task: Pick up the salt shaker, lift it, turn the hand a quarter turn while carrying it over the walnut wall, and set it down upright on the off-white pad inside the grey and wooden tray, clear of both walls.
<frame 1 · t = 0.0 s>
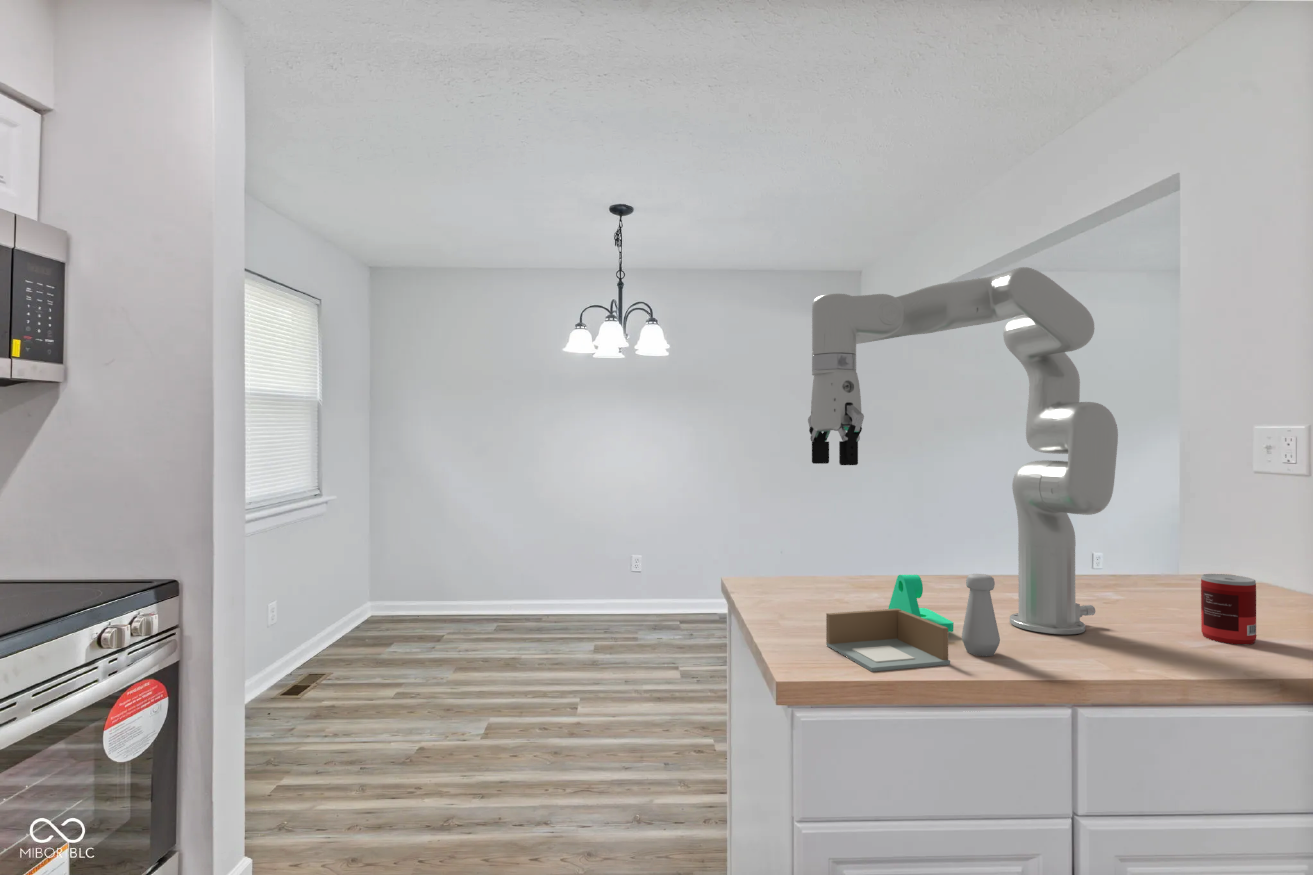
hand: (834, 464, 122), 31 cm above the table, tool pointing down, fingers open, 9 cm apart
camera mount: (920, 630, 131), on the table
canned food: (1228, 640, 125), on the table
grey and wooden tray: (885, 654, 115), on the table
salt shaker: (980, 654, 116), on the table
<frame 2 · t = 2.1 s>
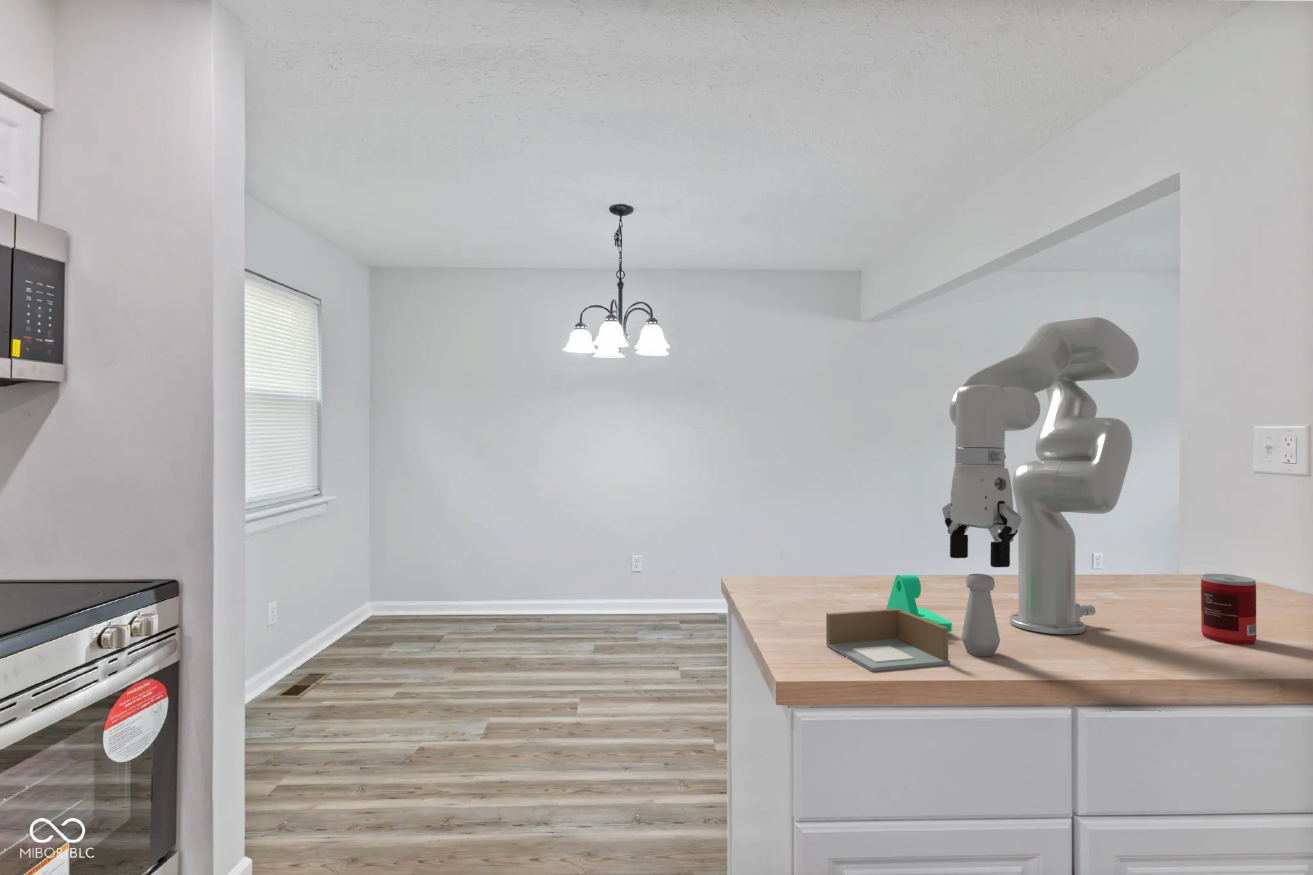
hand: (978, 562, 116), 15 cm above the table, tool pointing down, fingers open, 9 cm apart
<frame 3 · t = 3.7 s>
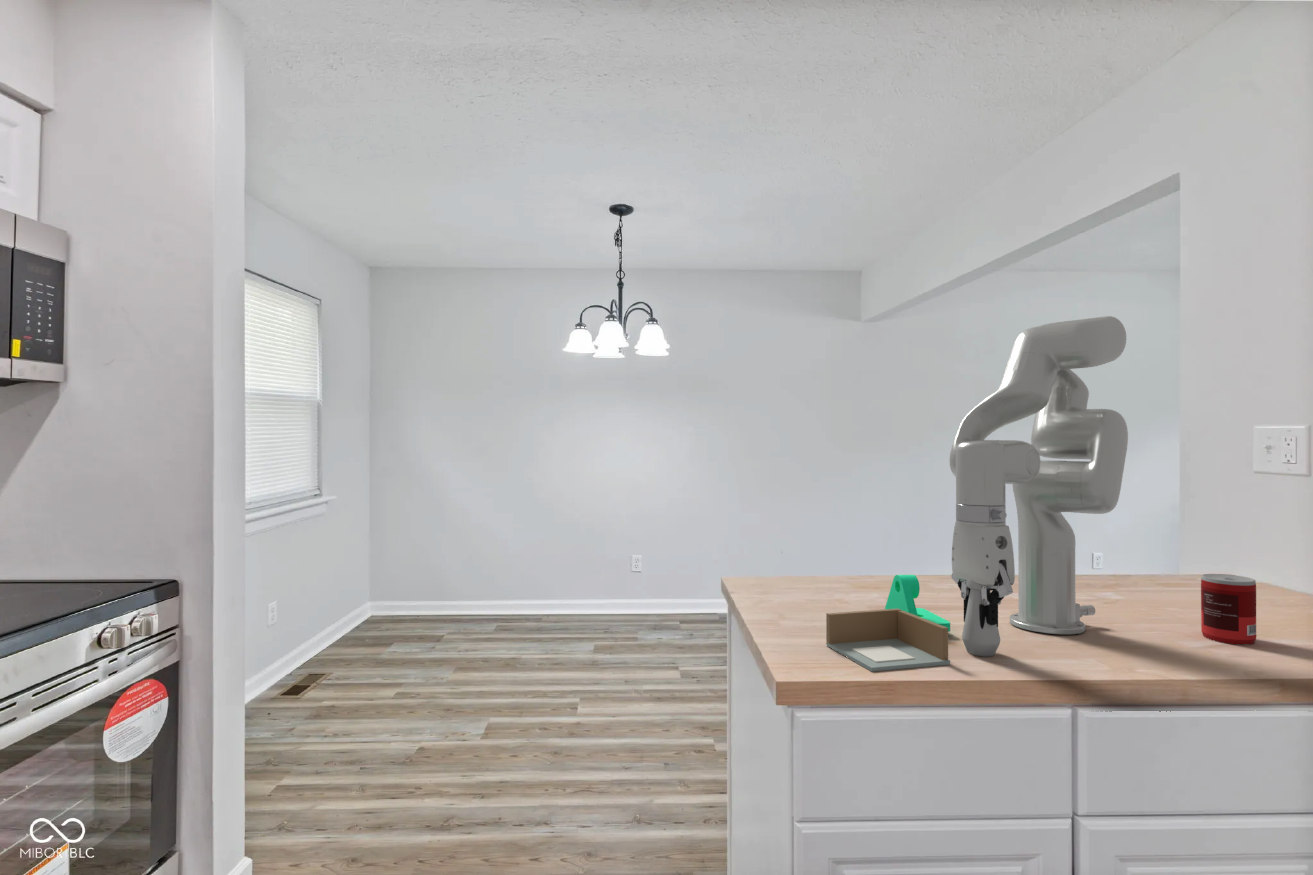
hand: (980, 624, 116), 5 cm above the table, tool pointing down, fingers closed on salt shaker, 3 cm apart
salt shaker: (981, 654, 116), on the table, touching gripper
everything else where it was.
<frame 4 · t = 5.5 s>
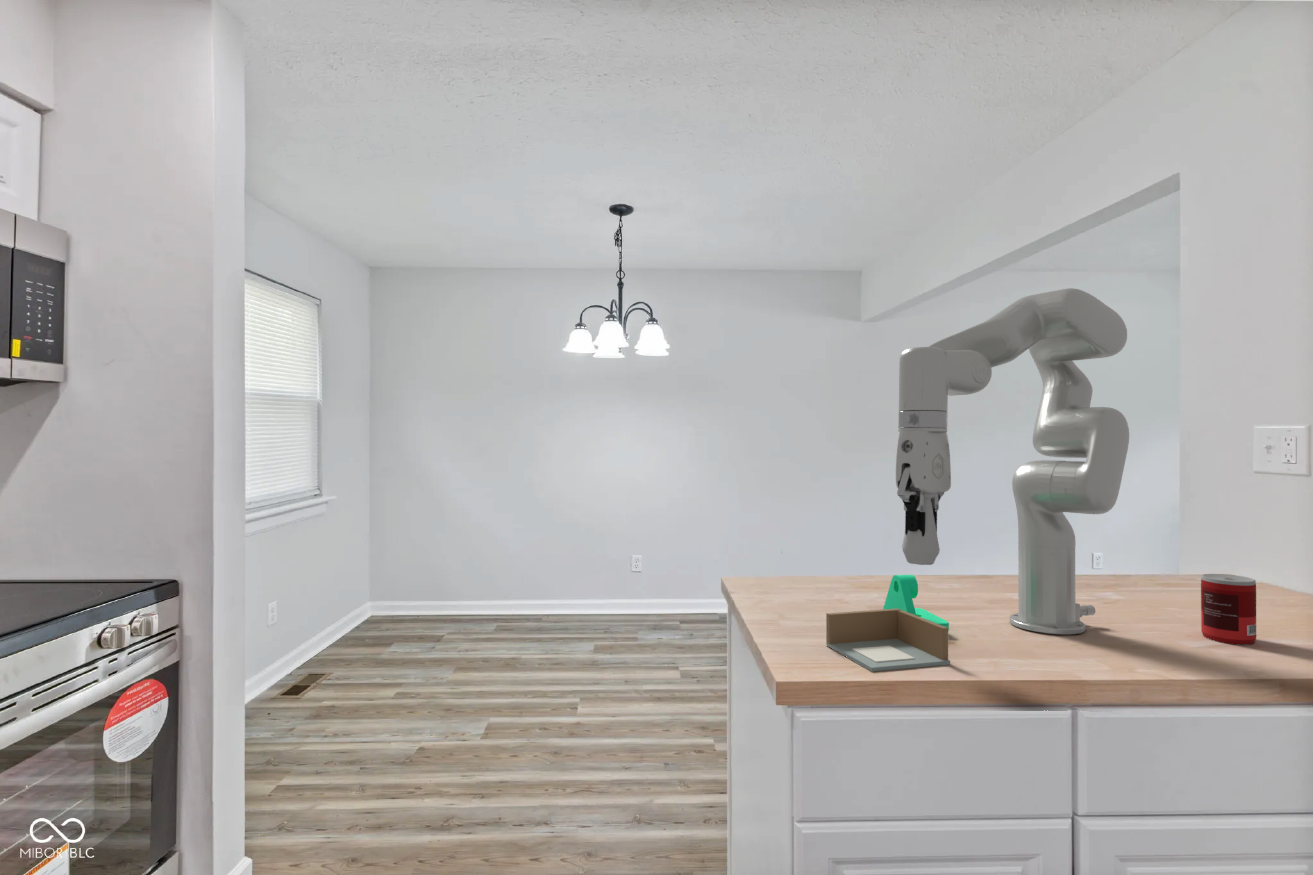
hand: (921, 534, 114), 20 cm above the table, tool pointing down, fingers closed on salt shaker, 3 cm apart
salt shaker: (920, 564, 114), point 15 cm above the table, touching gripper
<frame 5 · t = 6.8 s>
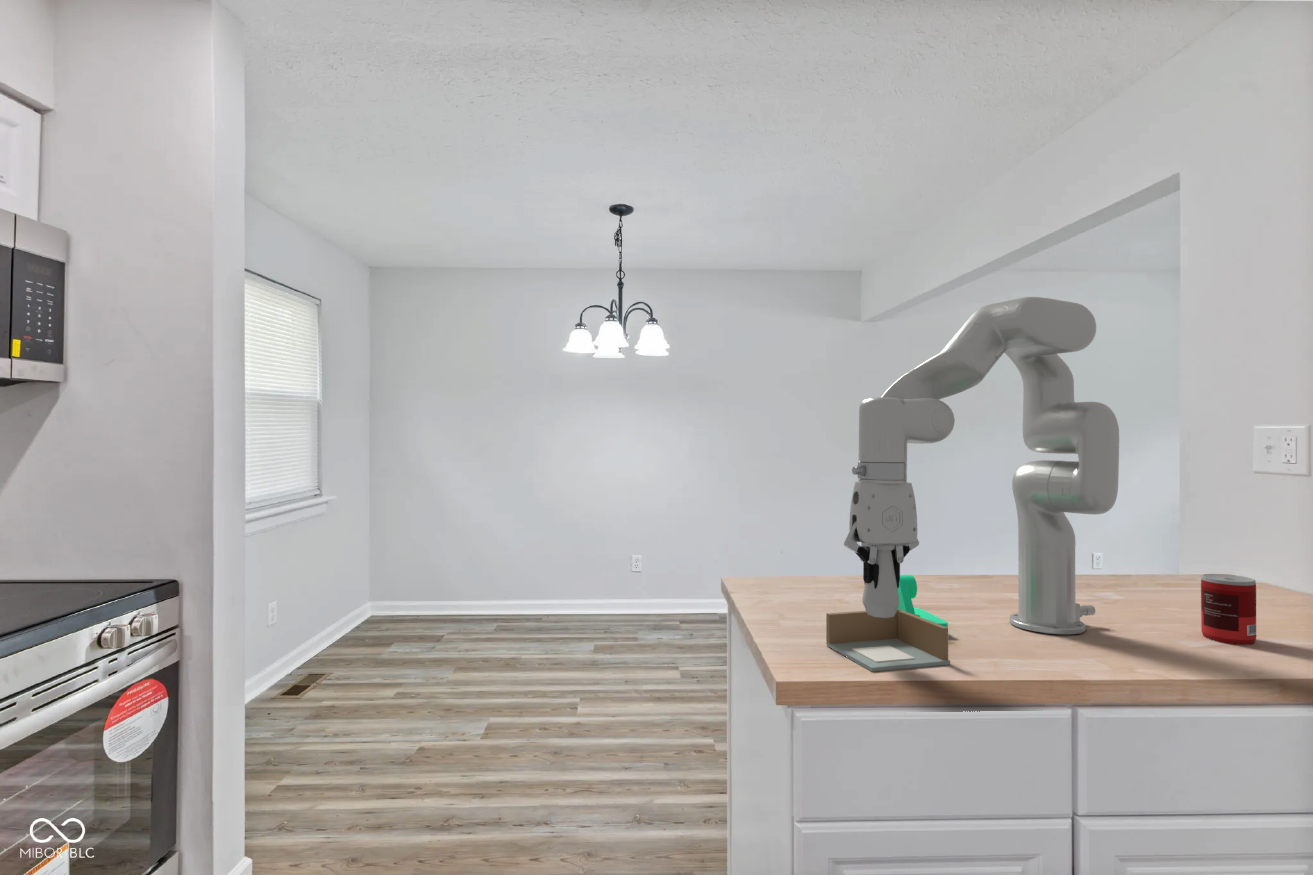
hand: (881, 586, 113), 12 cm above the table, tool pointing down, fingers closed on salt shaker, 3 cm apart
salt shaker: (880, 616, 113), point 7 cm above the table, touching gripper
when the fingers open (7 cm above the table, at t = 7.5 s): salt shaker drops 1 cm, resting on grey and wooden tray.
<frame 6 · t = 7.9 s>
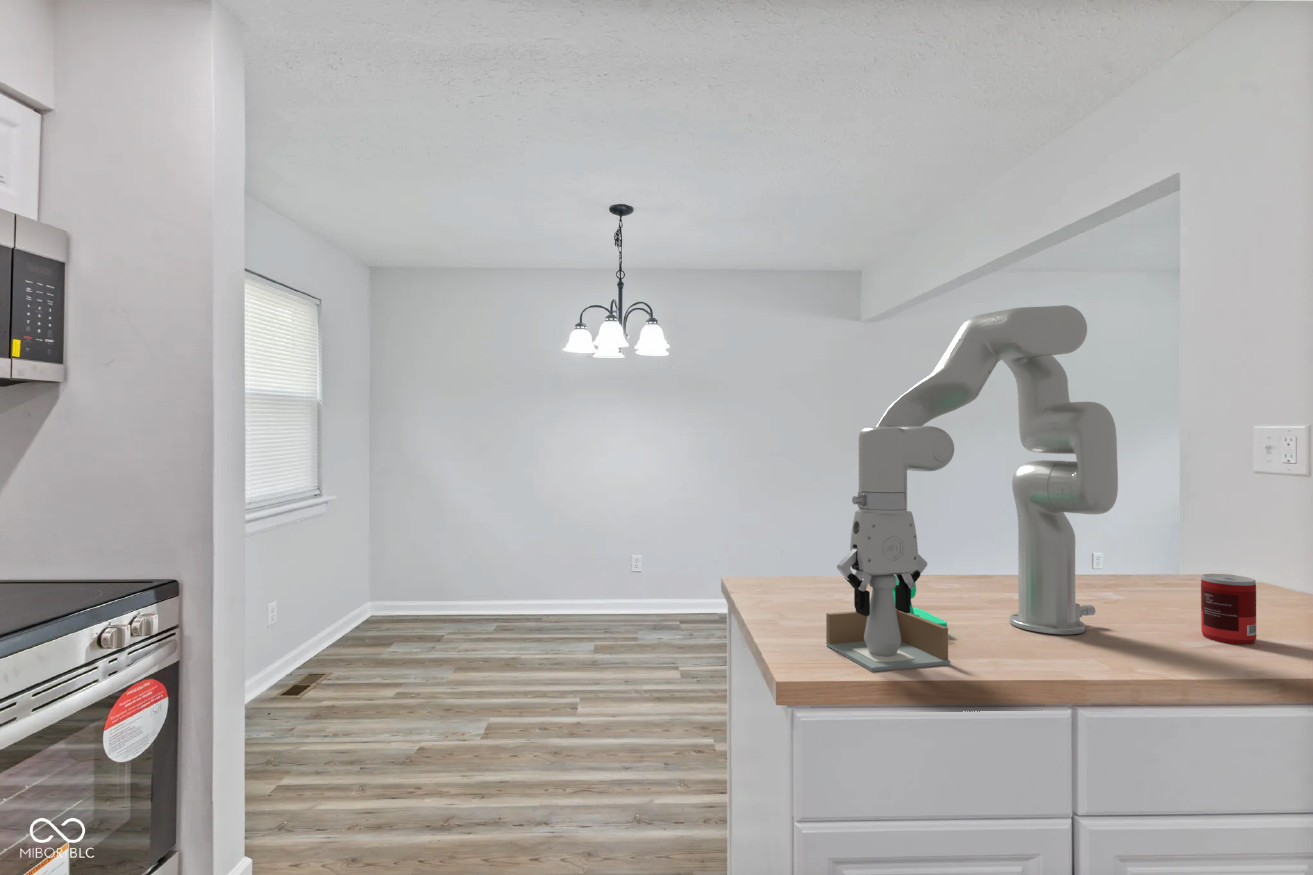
hand: (882, 611, 113), 7 cm above the table, tool pointing down, fingers open, 6 cm apart
salt shaker: (882, 654, 113), point 1 cm above the table, touching grey and wooden tray
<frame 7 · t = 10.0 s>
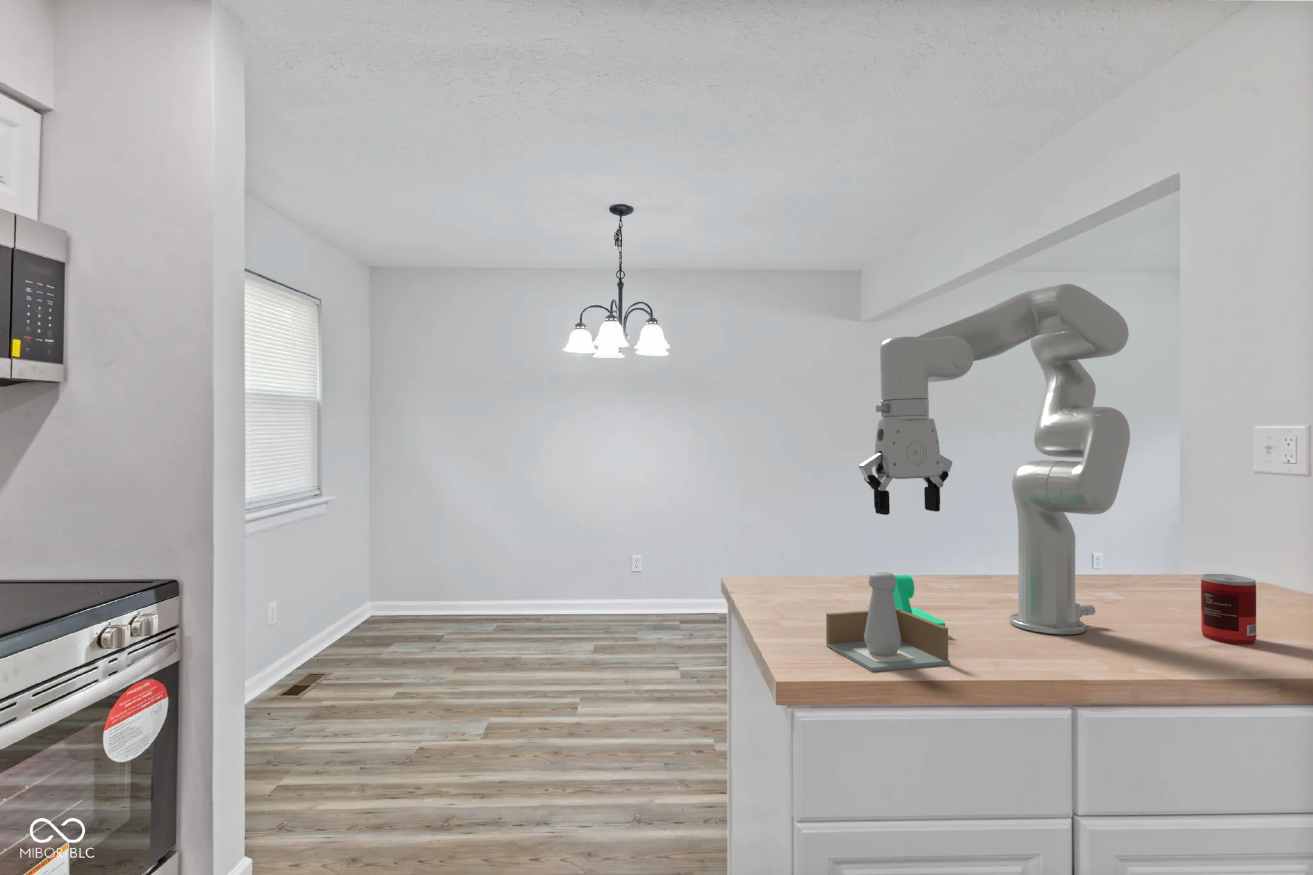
hand: (907, 512, 118), 23 cm above the table, tool pointing down, fingers open, 9 cm apart
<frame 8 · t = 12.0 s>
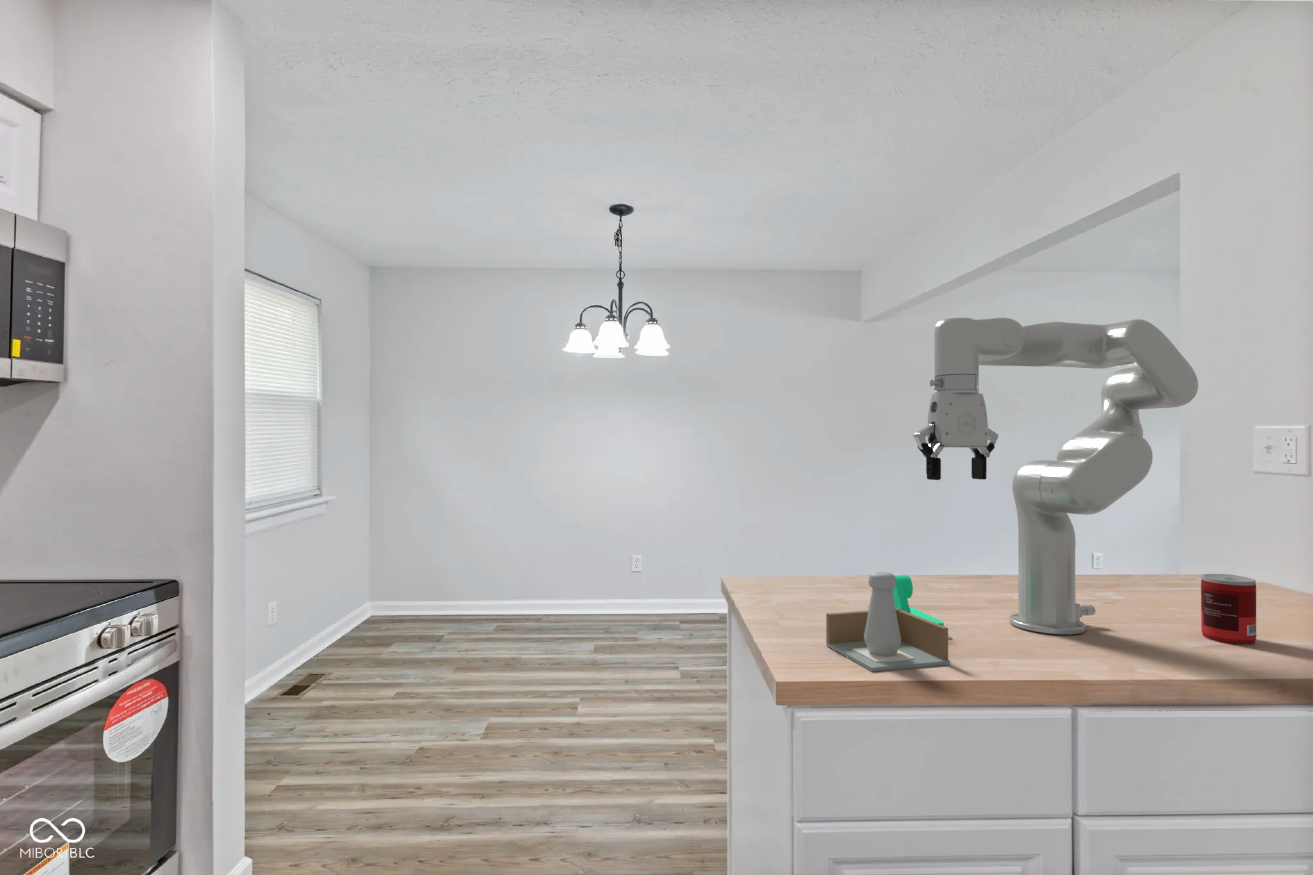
hand: (956, 479, 128), 28 cm above the table, tool pointing down, fingers open, 9 cm apart
at the end: salt shaker 0.1 cm from the target spot on the grey and wooden tray, point 0.6 cm above the grey and wooden tray's base; salt shaker tilted 0°; the gripper is holding nothing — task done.
